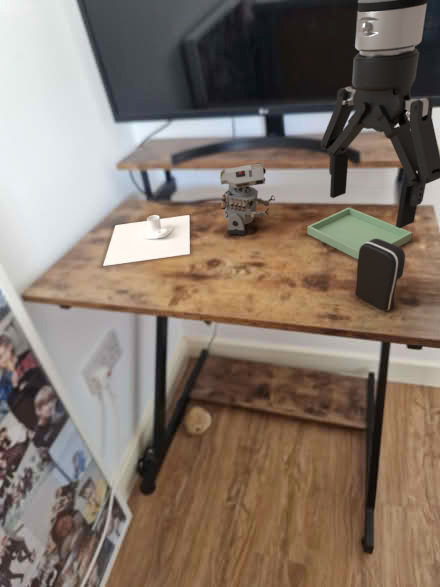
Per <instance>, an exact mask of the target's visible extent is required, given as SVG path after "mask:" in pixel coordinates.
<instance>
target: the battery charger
mask: <svg viewBox="0 0 440 587" xmlns="http://www.w3.org/2000/svg"><path fill="white" fill-rule="evenodd" d="M405 262H406V253H405V251H404V250H403V248H401V247H397V246H395V245H393V244H391V243H388V242H386V241H383V240H381V239H372V240H370V241H369V242H365V243H364V244H363V245H362V246H361V247H360V250H359V257H358V259H357V266H356V267H357V268H356V284H355V292H354V295H355V296H356V297H358V298H359V299H361V300H363V301H364V302H366V303H368V304H369V305H371V306H373V307H375V308H377V309H379V310H381V311H383V312H387V311H390V310H391V308H392V307H393V306H394V304H395V299H394V297H395V296H394V295H395V290H396V288H397V283H398V280H399V279H401V278H402V277H403V274H404V269H405Z"/></svg>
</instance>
